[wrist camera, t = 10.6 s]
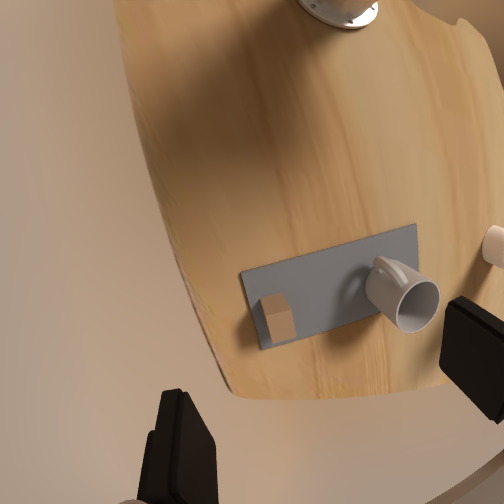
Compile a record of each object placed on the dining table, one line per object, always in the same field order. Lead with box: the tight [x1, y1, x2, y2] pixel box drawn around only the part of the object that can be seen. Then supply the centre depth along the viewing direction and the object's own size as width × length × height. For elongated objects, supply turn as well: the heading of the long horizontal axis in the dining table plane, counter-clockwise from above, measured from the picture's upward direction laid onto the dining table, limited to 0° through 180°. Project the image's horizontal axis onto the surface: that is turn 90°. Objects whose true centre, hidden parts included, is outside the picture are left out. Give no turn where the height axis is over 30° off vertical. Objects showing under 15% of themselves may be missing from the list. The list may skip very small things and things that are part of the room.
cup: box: [365, 256, 441, 333], centre depth 35 cm, size 7×10×9 cm
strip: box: [241, 224, 419, 350], centre depth 37 cm, size 12×26×5 cm, turn 104°
